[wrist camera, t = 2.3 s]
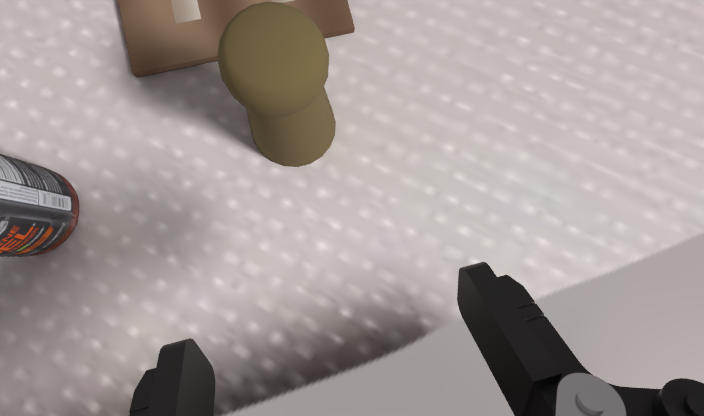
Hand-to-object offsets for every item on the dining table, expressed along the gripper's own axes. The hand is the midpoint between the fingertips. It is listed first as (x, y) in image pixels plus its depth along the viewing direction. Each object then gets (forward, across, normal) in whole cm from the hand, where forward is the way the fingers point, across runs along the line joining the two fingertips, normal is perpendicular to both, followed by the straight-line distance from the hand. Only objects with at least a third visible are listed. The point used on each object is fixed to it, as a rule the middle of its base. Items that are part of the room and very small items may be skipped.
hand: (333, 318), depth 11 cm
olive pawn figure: (+19, 0, +3) cm, 19 cm away
